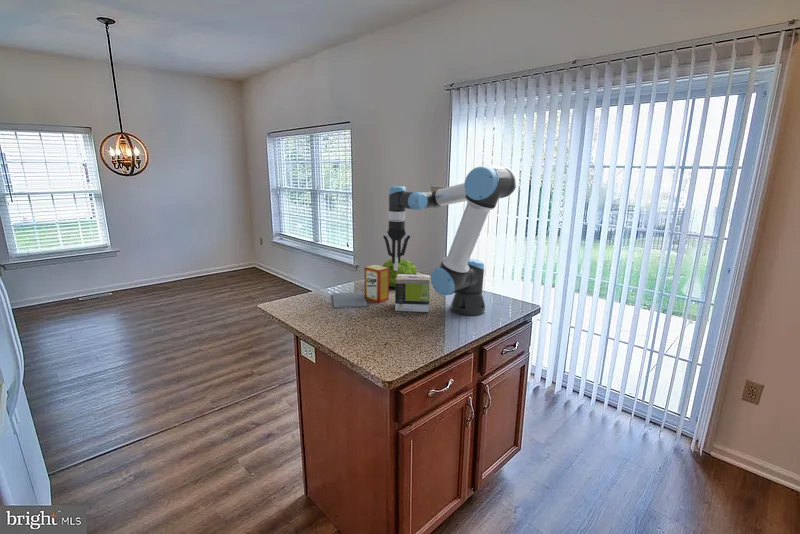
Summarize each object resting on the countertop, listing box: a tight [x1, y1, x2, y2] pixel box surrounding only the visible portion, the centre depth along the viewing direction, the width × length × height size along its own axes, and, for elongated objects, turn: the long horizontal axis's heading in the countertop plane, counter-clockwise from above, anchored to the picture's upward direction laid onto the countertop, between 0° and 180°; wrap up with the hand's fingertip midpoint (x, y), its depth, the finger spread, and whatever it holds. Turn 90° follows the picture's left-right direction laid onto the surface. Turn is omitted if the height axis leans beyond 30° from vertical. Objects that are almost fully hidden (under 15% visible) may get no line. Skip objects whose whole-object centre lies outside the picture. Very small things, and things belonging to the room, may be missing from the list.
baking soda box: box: [364, 264, 390, 304], centre depth 186 cm, size 10×6×16 cm
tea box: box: [394, 274, 431, 313], centre depth 175 cm, size 15×10×15 cm, turn 84°
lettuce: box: [381, 258, 418, 288], centre depth 209 cm, size 16×21×15 cm
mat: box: [331, 291, 369, 309], centre depth 185 cm, size 20×15×1 cm
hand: (395, 270), depth 186 cm, fingers closed
